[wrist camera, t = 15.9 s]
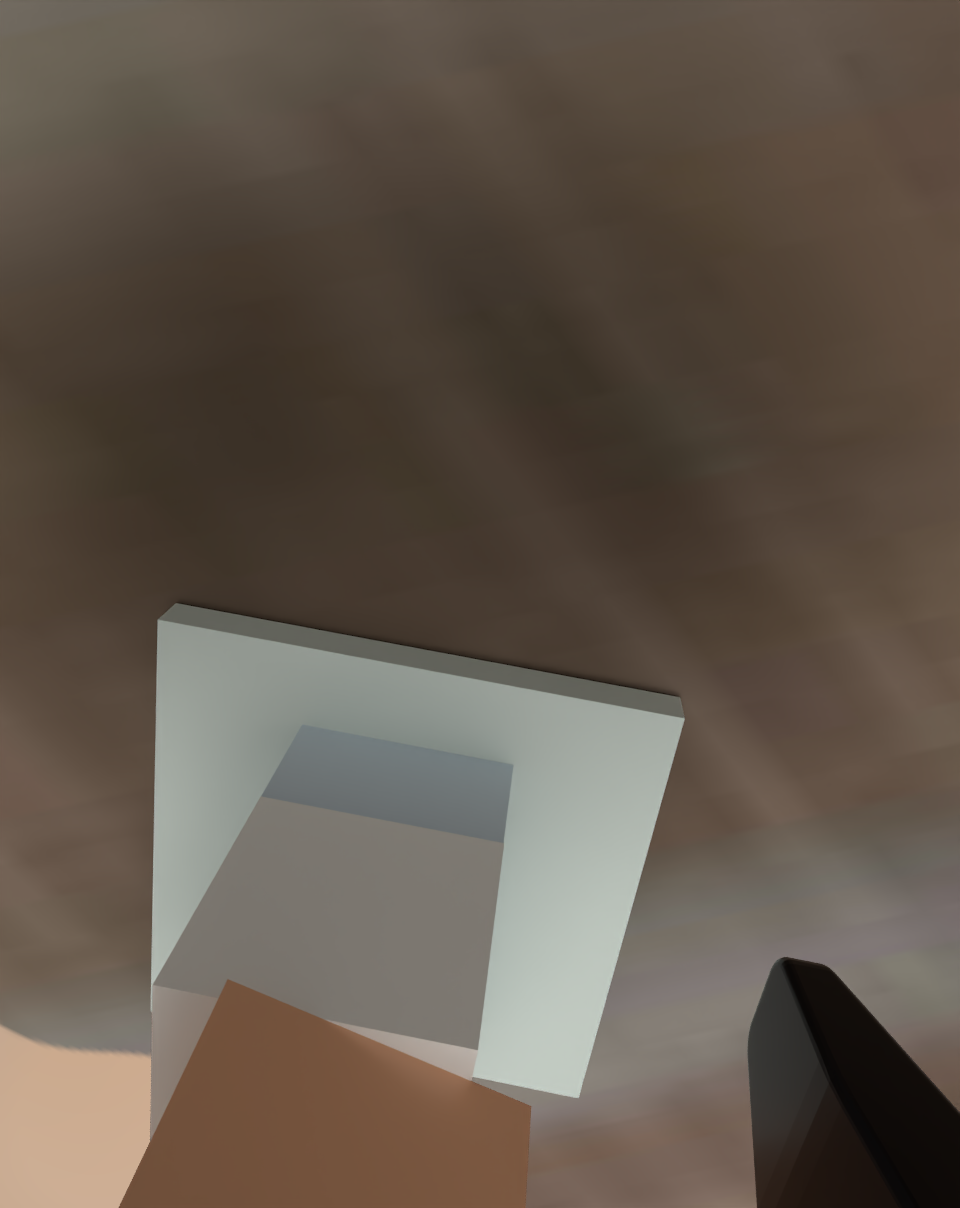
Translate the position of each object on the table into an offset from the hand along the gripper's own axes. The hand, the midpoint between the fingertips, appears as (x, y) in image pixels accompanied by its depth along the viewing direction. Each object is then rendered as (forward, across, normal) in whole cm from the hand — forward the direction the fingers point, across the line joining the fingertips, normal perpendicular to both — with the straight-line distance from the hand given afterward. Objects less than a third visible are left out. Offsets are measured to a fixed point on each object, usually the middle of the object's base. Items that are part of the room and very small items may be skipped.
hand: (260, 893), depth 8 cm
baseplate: (+13, 0, +10) cm, 16 cm away
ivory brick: (+9, 0, +10) cm, 13 cm away
